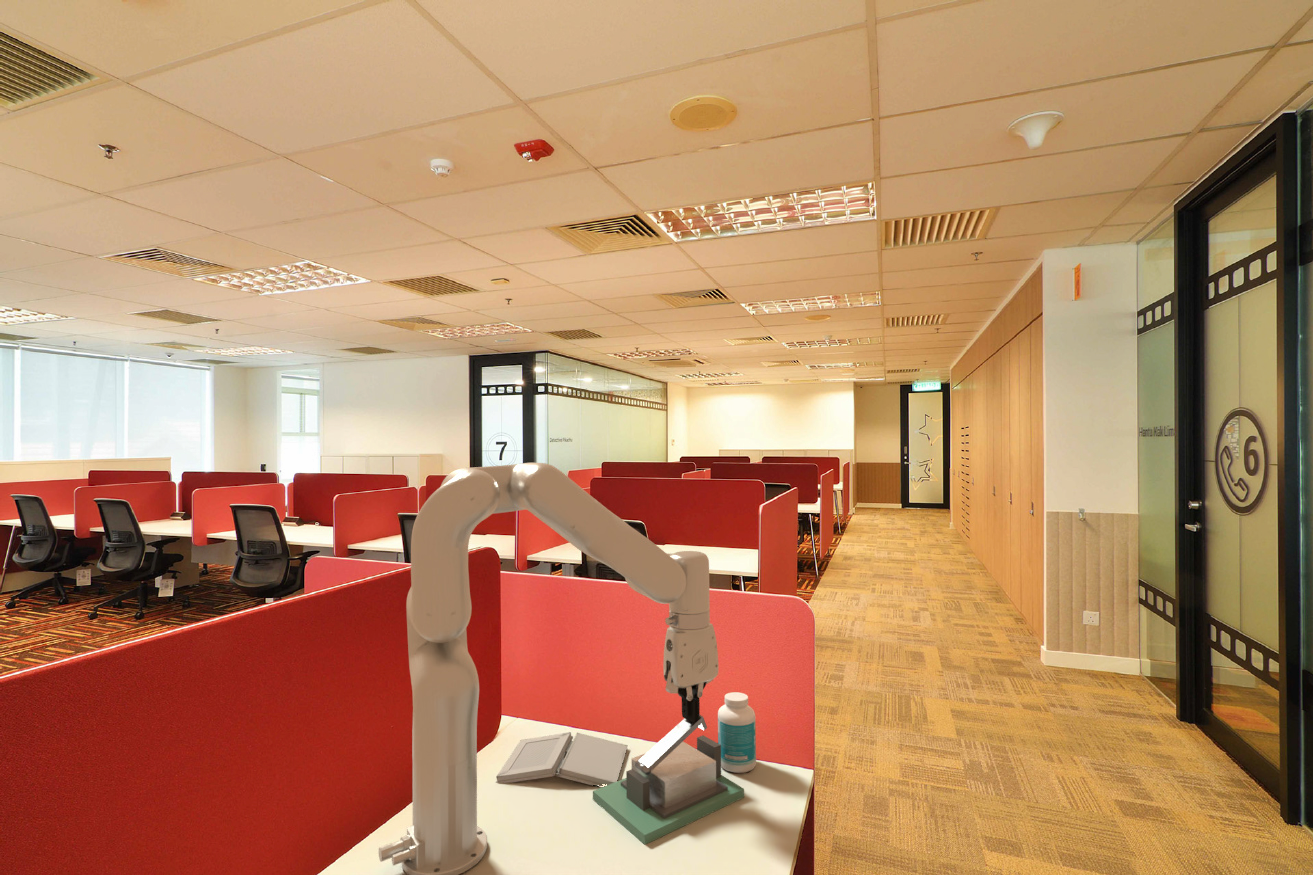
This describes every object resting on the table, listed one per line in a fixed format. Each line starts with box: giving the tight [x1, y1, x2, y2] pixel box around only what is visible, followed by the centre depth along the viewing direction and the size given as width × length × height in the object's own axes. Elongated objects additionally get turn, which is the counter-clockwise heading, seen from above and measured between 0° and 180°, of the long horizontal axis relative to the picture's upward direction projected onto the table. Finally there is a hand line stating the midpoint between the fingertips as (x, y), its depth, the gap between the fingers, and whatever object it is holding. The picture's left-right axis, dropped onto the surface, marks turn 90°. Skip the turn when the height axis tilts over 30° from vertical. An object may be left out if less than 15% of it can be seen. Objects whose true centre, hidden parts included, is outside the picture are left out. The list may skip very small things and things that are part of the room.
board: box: [592, 734, 745, 845], centre depth 111 cm, size 22×16×7 cm
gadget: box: [495, 731, 629, 786], centre depth 124 cm, size 23×15×4 cm, turn 85°
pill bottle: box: [717, 691, 757, 774], centre depth 123 cm, size 8×7×14 cm
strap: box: [635, 714, 708, 775], centre depth 112 cm, size 15×3×3 cm, turn 127°
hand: (690, 718), depth 115 cm, fingers closed
